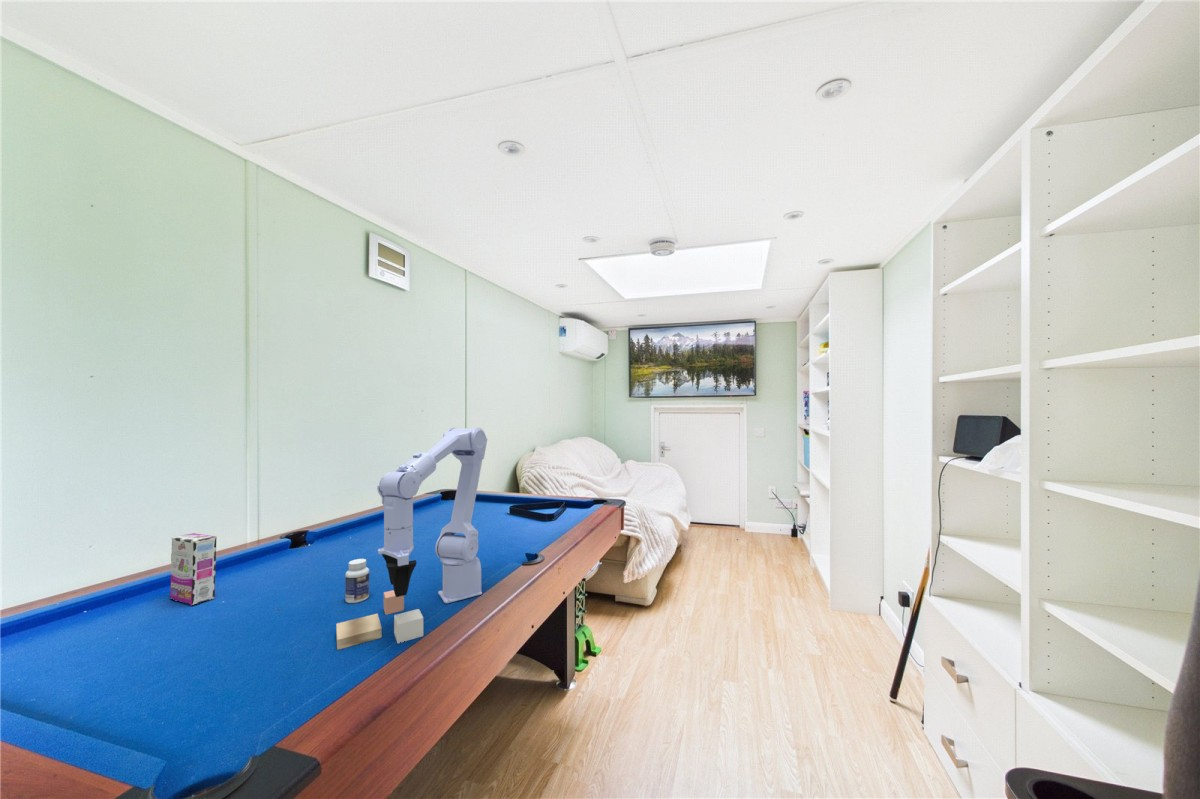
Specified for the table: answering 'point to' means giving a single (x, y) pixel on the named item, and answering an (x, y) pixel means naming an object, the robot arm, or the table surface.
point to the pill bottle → (357, 581)
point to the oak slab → (358, 631)
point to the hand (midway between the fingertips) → (398, 589)
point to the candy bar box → (193, 568)
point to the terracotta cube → (393, 602)
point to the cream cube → (408, 625)
